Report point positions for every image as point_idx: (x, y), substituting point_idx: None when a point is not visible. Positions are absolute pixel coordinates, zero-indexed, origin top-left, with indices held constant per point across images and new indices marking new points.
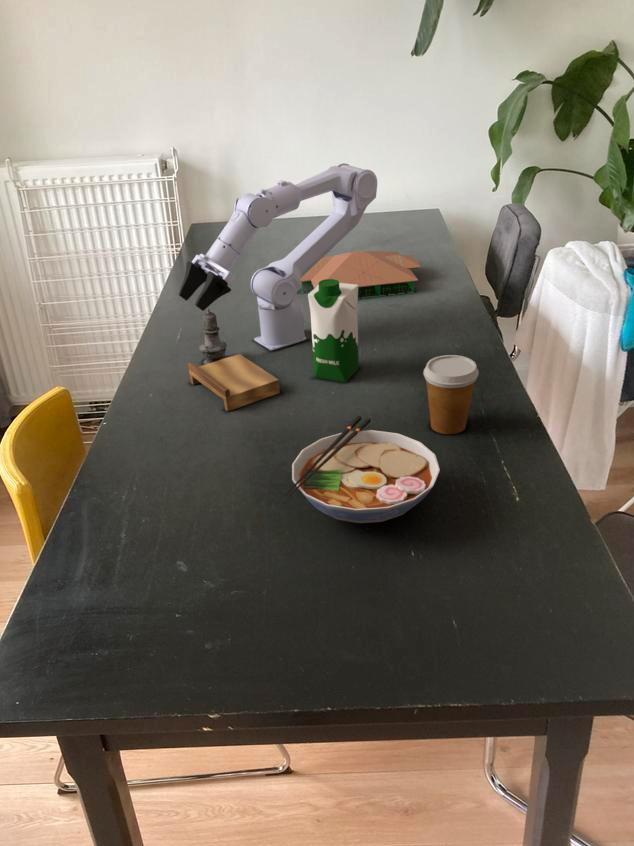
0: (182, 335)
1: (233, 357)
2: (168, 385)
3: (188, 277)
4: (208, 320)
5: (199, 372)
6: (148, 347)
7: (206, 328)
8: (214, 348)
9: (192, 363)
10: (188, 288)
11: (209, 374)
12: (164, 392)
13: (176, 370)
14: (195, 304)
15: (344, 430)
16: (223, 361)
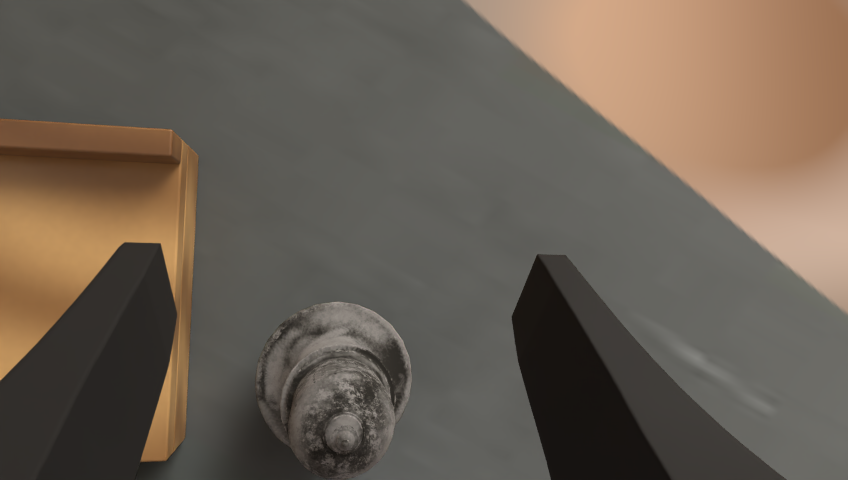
0: (697, 378)
1: None
2: (254, 66)
3: (630, 434)
4: (301, 392)
5: (8, 119)
6: (678, 195)
7: (320, 364)
8: (280, 362)
9: (148, 147)
10: (561, 378)
11: (38, 193)
12: (199, 16)
13: (374, 172)
14: (146, 246)
15: None
16: None
